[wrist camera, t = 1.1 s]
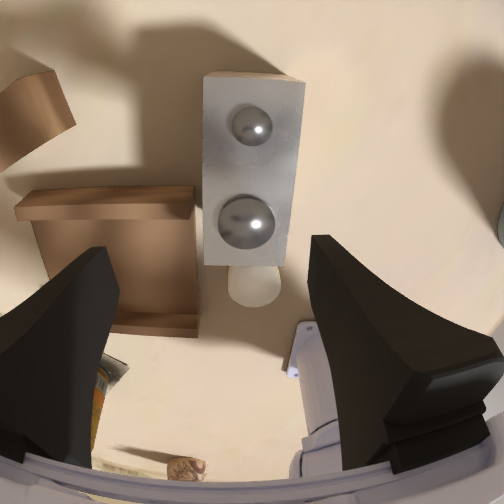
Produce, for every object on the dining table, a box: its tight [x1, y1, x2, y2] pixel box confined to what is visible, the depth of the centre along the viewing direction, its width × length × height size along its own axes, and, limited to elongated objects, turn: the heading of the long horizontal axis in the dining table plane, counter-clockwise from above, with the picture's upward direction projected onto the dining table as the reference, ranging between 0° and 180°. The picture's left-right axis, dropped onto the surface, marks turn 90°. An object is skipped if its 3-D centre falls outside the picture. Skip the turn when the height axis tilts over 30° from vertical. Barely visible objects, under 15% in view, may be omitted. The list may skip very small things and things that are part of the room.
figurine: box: [167, 457, 208, 482], centre depth 43 cm, size 7×7×12 cm
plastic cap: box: [228, 266, 281, 307], centre depth 23 cm, size 4×4×2 cm
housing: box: [202, 71, 306, 267], centre depth 16 cm, size 4×9×6 cm, turn 177°
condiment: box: [91, 353, 130, 452], centre depth 25 cm, size 7×8×12 cm
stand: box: [14, 186, 200, 338], centre depth 21 cm, size 12×11×2 cm
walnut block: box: [0, 70, 76, 173], centre depth 14 cm, size 4×4×4 cm
